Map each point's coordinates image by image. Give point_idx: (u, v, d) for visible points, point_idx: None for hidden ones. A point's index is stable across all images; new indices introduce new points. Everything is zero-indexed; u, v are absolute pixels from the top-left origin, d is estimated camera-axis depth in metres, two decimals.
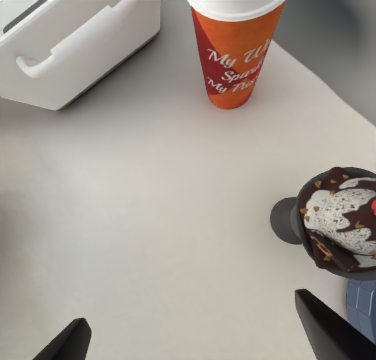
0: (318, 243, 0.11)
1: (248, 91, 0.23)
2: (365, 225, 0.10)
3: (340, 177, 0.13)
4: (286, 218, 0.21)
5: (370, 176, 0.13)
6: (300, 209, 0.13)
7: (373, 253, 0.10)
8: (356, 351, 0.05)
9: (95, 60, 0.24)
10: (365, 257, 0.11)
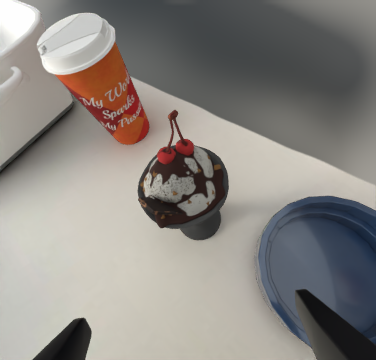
0: (140, 201, 0.13)
1: (138, 125, 0.28)
2: (157, 172, 0.13)
3: None
4: None
5: None
6: (140, 185, 0.15)
7: (173, 193, 0.12)
8: (356, 351, 0.05)
9: (13, 130, 0.29)
10: (184, 204, 0.13)
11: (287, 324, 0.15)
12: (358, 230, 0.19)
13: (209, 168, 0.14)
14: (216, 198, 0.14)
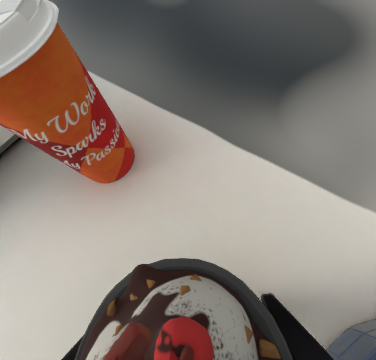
0: None
1: (116, 159, 0.19)
2: None
3: (143, 286, 0.07)
4: None
5: (199, 268, 0.07)
6: None
7: None
8: (305, 356, 0.06)
9: None
10: None
11: None
12: None
13: None
14: None
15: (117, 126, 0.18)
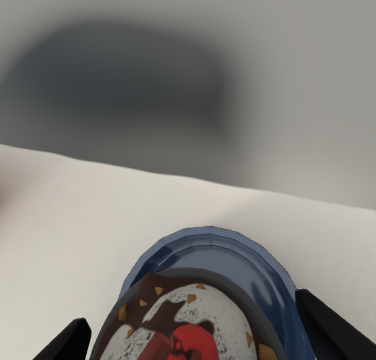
0: None
1: None
2: None
3: (152, 293, 0.07)
4: None
5: (203, 277, 0.08)
6: None
7: None
8: (356, 351, 0.05)
9: None
10: None
11: None
12: (233, 252, 0.16)
13: None
14: None
15: None
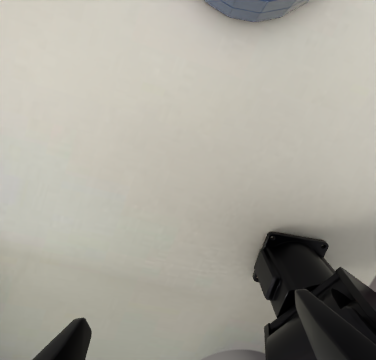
0: None
1: None
2: None
3: None
4: None
5: None
6: None
7: None
8: (356, 351, 0.05)
9: None
10: None
11: None
12: None
13: None
14: None
15: None
